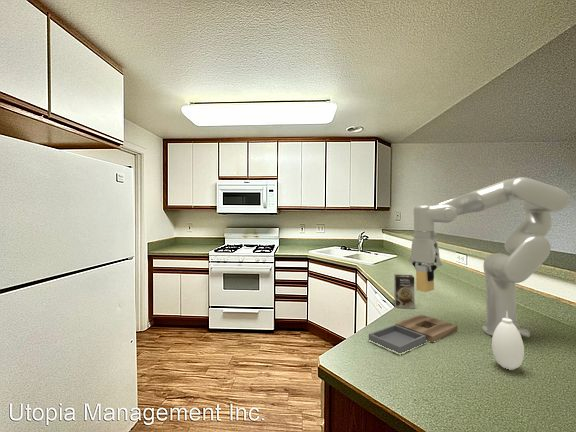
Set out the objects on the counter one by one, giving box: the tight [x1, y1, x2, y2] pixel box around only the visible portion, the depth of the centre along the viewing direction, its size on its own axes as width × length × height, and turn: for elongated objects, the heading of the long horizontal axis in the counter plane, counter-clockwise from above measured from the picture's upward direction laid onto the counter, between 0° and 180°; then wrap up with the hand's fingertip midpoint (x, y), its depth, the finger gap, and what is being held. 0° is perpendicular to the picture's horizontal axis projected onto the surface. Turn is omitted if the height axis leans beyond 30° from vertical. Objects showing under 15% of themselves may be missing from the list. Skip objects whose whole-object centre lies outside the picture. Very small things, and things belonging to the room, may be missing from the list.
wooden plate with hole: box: [394, 314, 458, 343], centre depth 119 cm, size 16×18×2 cm
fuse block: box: [415, 263, 435, 293], centre depth 119 cm, size 4×6×10 cm, turn 123°
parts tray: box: [368, 324, 427, 353], centre depth 109 cm, size 14×16×3 cm
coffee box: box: [393, 274, 415, 310], centre depth 150 cm, size 9×6×16 cm
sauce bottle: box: [491, 311, 525, 371], centre depth 90 cm, size 8×8×18 cm
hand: (425, 279), depth 119 cm, fingers closed on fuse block, 4 cm apart
